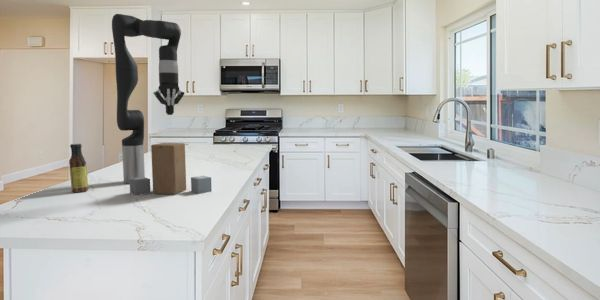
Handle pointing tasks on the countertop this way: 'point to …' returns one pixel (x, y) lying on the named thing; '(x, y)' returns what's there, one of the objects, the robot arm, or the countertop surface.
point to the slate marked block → (201, 184)
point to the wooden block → (168, 168)
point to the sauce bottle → (78, 169)
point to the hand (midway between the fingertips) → (169, 114)
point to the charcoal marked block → (140, 186)
